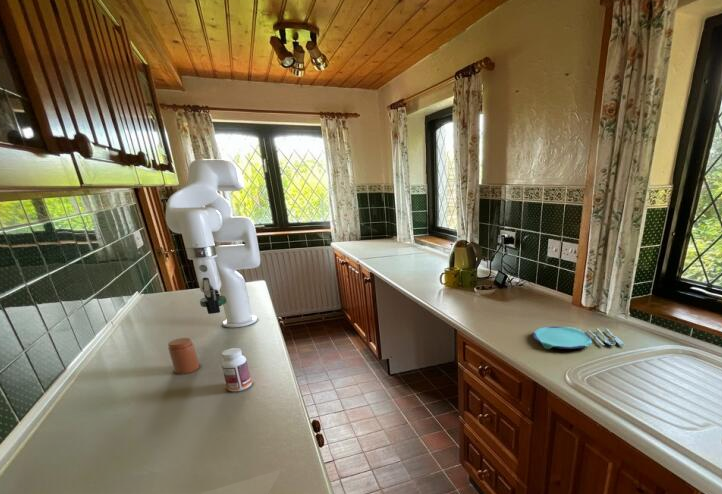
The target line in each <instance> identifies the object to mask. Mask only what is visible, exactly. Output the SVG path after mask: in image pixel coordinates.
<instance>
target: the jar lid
mask: <svg viewBox="0 0 722 494" xmlns="http://www.w3.org/2000/svg"><path fill="white" fill-rule="evenodd" d="M216 300H218V304H219V307H221V306H220V305H222V306H223V304H225V303H226V302H227V301H226V297H225V296H221V295H220V296H216ZM199 304H200V307H202V308H207V307H206V303H205V297H203V298H201V299H199Z"/></svg>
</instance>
